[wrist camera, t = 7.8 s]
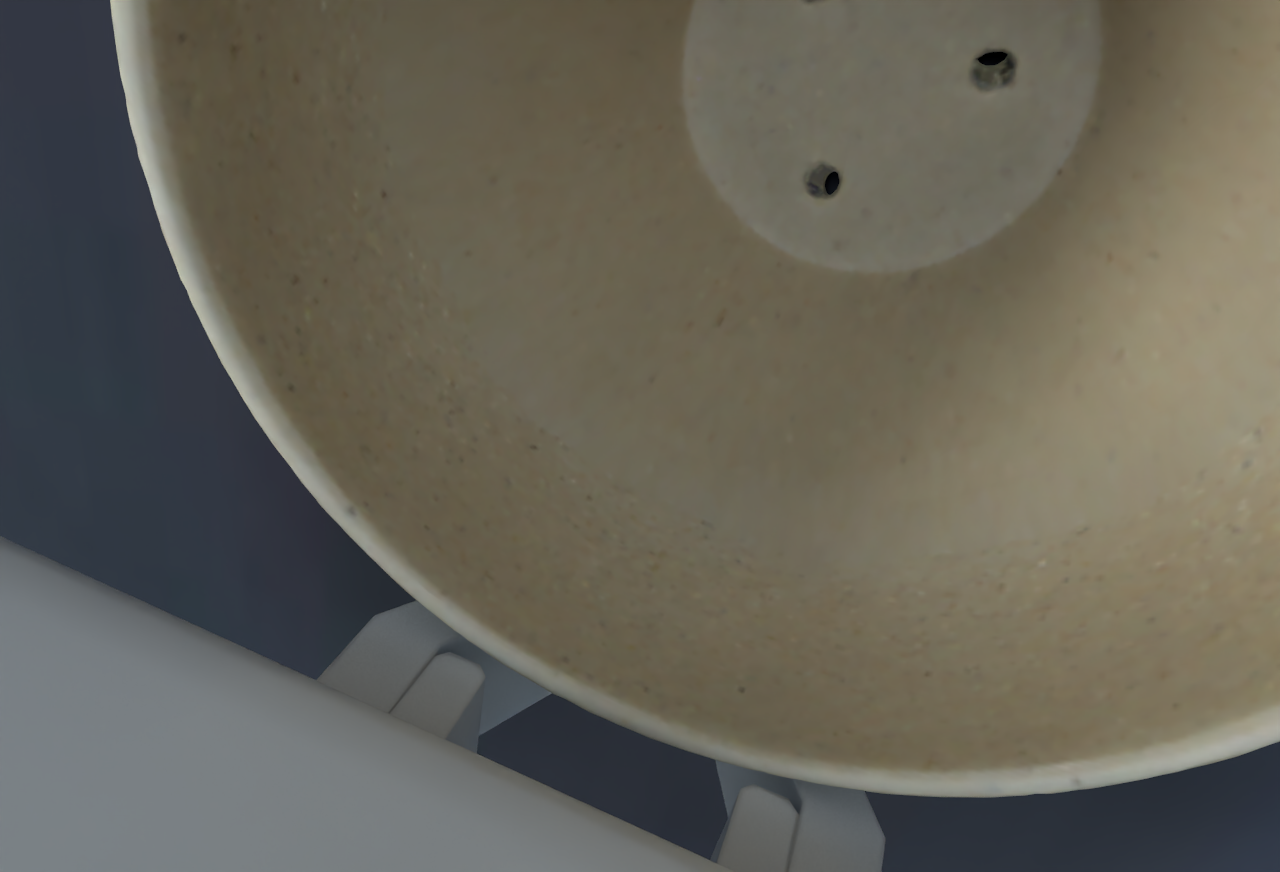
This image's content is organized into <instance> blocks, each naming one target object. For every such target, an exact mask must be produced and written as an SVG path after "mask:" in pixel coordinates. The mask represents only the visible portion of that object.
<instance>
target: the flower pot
mask: <svg viewBox="0 0 1280 872" xmlns="http://www.w3.org/2000/svg"><path fill="white" fill-rule="evenodd" d="M110 2H111V11H112V21H113V28H114V35H115V42H116V49H117V55H118V62H119V68H120V75H121V80H122V83H123V87H124V91H125V95H126V103H127V109H128V114H129V119H130V124H131V128H132V132H133V135H134V138H135V142H136V145H137V149H138V156H139V159H140V162H141V165H142V168H143V171H144V174H145V177H146V180H147V183H148V186H149V189H150V192H151V195H152V199H153V203H154V206H155V209H156V212H157V215H158V218H159V221H160V225H161V228H162V232H163V235H164V237H165V239H166V242H167V244H168V247H169V249H170V252H171V255H172V257H173V260H174V263H175V265H176V268H177V271H178V273H179V276H180V279H181V281H182V282H183V284H184V286H185V287H186V289H187V291H188V294H189V297H190V300H191V302H192V304H193V306H194V308H195V310H196V312H197V314H198V316H199V318H200V321H201V323H202V325H203V327H204V329H205V331H206V333H207V335H208V337H209V339H210V341H211V343H212V345H213V347H214V349H215V351H216V353H217V355H218V357H219V359H220V360H221V362H222V364H223V366H224V367H225V369H226V371H227V372H228V374H229V376H230V377H231V379H232V381H233V383H234V384H235V386H236V388H237V389H238V391H239V393H240V395H241V396H242V398H243V400H244V401H245V403H246V404H247V406H248V408H249V409H250V411H251V412H252V414H253V416H254V417H255V419H256V420H257V422H258V423H259V424H260V426H261V427H262V429H263V430H264V432H265V433H266V435H267V436H268V438H269V439H270V441H271V442H272V444H273V445H274V446H275V448H276V449H277V450H278V451H279V453H280V454H281V455H282V456H283V458H284V459H285V460H286V462H287V463H288V464H289V465H290V467H291V468H292V469H293V471H294V472H295V474H296V475H297V476H298V478H299V479H300V481H301V482H302V483H303V484H304V486H305V487H306V488H307V489H308V490H309V491H310V493H311V494H312V495H313V496H314V497H315V499H316V500H317V501H318V503H319V504H320V505H321V506H322V507H323V509H324V510H325V511H326V512H327V513H328V514H329V515H330V516H331V517H332V518H333V519H334V520H335V521H336V522H337V523H338V524H339V525H340V526H341V527H342V529H343V530H344V531H345V532H346V533H347V534H348V535H349V536H350V537H351V538H352V539H353V540H354V541H355V542H356V543H357V544H358V545H359V546H360V547H361V548H362V549H363V550H364V551H365V552H366V553H367V554H368V555H369V556H370V557H371V558H372V559H373V560H374V561H375V562H376V563H377V564H378V565H379V566H380V567H381V568H382V569H383V570H384V571H385V572H386V573H387V574H388V575H389V576H390V577H391V578H392V579H393V580H395V581H396V582H397V583H398V584H399V585H400V586H401V587H402V588H403V589H404V590H405V591H407V592H408V593H409V594H410V595H411V596H412V597H414V598H415V599H416V600H417V601H418V602H419V603H421V604H422V605H423V606H424V607H426V608H427V609H428V610H429V611H431V612H432V613H433V614H434V615H436V616H437V617H438V618H439V619H441V620H442V621H443V622H444V623H446V624H447V625H448V626H449V627H451V628H452V629H453V630H455V631H456V632H458V633H459V634H461V635H462V636H463V637H465V638H466V639H467V640H468V641H470V642H471V643H473V644H474V645H476V646H477V647H479V648H480V649H482V650H483V651H484V652H486V653H487V654H489V655H490V656H492V657H493V658H494V659H496V660H497V661H499V662H500V663H502V664H503V665H505V666H506V667H508V668H510V669H512V670H513V671H515V672H517V673H518V674H520V675H522V676H524V677H525V678H527V679H529V680H530V681H532V682H534V683H536V684H537V685H539V686H541V687H542V688H544V689H546V690H547V691H549V692H551V693H553V694H555V695H558V696H560V697H563V698H565V699H567V700H568V701H570V702H572V703H574V704H576V705H578V706H579V707H581V708H583V709H585V710H587V711H589V712H591V713H593V714H595V715H597V716H600V717H602V718H605V719H607V720H609V721H611V722H613V723H616V724H618V725H620V726H623V727H626V728H628V729H630V730H633V731H635V732H637V733H640V734H642V735H644V736H646V737H649V738H651V739H654V740H657V741H660V742H663V743H666V744H669V745H672V746H674V747H677V748H680V749H683V750H686V751H689V752H692V753H695V754H699V755H702V756H706V757H709V758H712V759H714V760H717V761H720V762H724V763H728V764H732V765H736V766H739V767H743V768H746V769H750V770H756V771H761V772H765V773H768V774H772V775H777V776H781V777H786V778H792V779H798V780H803V781H807V782H812V783H817V784H823V785H828V786H834V787H841V788H849V789H856V790H863V791H869V792H876V793H883V794H898V795H911V796H934V797H1003V796H1022V795H1030V794H1035V793H1037V794H1051V793H1059V792H1067V791H1073V790H1082V789H1091V788H1097V787H1103V786H1109V785H1115V784H1120V783H1126V782H1131V781H1137V780H1141V779H1146V778H1150V777H1155V776H1159V775H1164V774H1169V773H1174V772H1179V771H1183V770H1186V769H1190V768H1195V767H1199V766H1203V765H1207V764H1211V763H1215V762H1219V761H1222V760H1226V759H1230V758H1233V757H1237V756H1240V755H1243V754H1245V753H1248V752H1251V751H1254V750H1257V749H1259V748H1262V747H1265V746H1268V745H1270V744H1273V743H1276V742H1279V741H1280V0H110ZM989 52H1004V53H1007V54H1008V55H1007V57H1006V58H1005V60H1004V61H1002V62H1000V63H999V64H997V65H984V64H981V63H979V61H978V58H979V57H981V56H982V55H984V54H985V53H989ZM833 171H834V172H837V173H838V176H839V182H840V183H839V186H838V188H837V190H836V191H835V192H833V193H832V194H831V195H828V193H827V192H826V189H825V181H826V178H827V176H828V175H829V174H830V173H832V172H833Z"/></svg>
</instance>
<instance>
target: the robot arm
mask: <svg viewBox="0 0 1280 872" xmlns="http://www.w3.org/2000/svg"><path fill="white" fill-rule="evenodd" d="M550 694H551V692H549V691H547V690H546V689H544V688H542V687H541V686H539V685H537V684H536V683H534V682H532V681H530V680H529V679H527V678H525V677H524V676H522V675H520V674H518V673H517V672H515V671H513V670H512V669H510V668H508V667H506V666H505V665H503V664H502V663H500V662H499V661H497V660H496V659H494V658H493V657H492V656H490V655H489V654H487V653H486V652H484V651H483V650H482V649H480V648H479V647H477V646H476V645H474V644H473V643H471V642H470V641H468V640H467V639H466V638H465V637H463V636H462V635H461V634H459V633H458V632H456V631H455V630H453V629H452V628H451V627H449V626H448V625H447V624H446V623H444V622H443V621H442V620H441V619H439V618H438V617H437V616H436V615H434V614H433V613H432V612H431V611H429V610H428V609H427V608H426V607H424V606H423V605H422V604H421V603H419V602H418V601H417V600H416V601H414V602H411V603H408V604H405V605H402V606H399V607H397V608H394V609H391V610H388V611H385V612H383V613H380V614H377V615H374V616H373V617H372V619H371V620H370V621H369V622H368V623H367V624H366V625H365V626H364V628H363V629H362V630H361V631H360V632H359V633H358V634H357V635H356V636H355V638H354V639H353V640H352V641H351V642H350V643H349V644H348V645H347V647H346V648H345V649H344V650H343V651H342V652H341V653H340V654H339V655H338V657H337V658H336V659H335V660H334V661H333V662H332V663H331V664H330V666H329V667H328V668H327V669H326V670H325V671H324V672H323V673H322V674H321V676H320V677H319V678H318V679H317V680H314V679H312V678H310V677H308V676H305V675H303V674H301V673H299V672H297V671H295V670H292V669H290V668H288V667H286V666H284V665H281V664H279V663H277V662H275V661H273V660H270V659H268V658H266V657H264V656H262V655H259V654H257V653H255V652H253V651H251V650H249V649H246V648H244V647H242V646H240V645H238V644H235V643H233V642H231V641H229V640H227V639H224V638H222V637H220V636H218V635H216V634H213V633H211V632H209V631H207V630H205V629H202V628H200V627H198V626H196V625H194V624H192V623H189V622H187V621H185V620H183V619H181V618H178V617H176V616H174V615H172V614H170V613H167V612H165V611H163V610H161V609H159V608H156V607H154V606H152V605H150V604H148V603H146V602H143V601H141V600H139V599H137V598H135V597H132V596H130V595H128V594H126V593H124V592H121V591H119V590H117V589H115V588H113V587H110V586H108V585H106V584H104V583H102V582H99V581H97V580H95V579H93V578H91V577H89V576H86V575H84V574H82V573H80V572H78V571H75V570H73V569H71V568H69V567H67V566H64V565H62V564H60V563H58V562H56V561H53V560H51V559H49V558H47V557H45V556H42V555H40V554H38V553H36V552H34V551H32V550H29V549H27V548H25V547H23V546H21V545H18V544H16V543H14V542H12V541H10V540H7V539H5V538H3V537H1V536H0V872H881V869H882V862H883V855H884V847H885V840H886V838H885V836H884V834H883V832H882V829H881V827H880V825H879V823H878V820H877V818H876V816H875V814H874V811H873V809H872V807H871V805H870V802H869V800H868V798H867V795H866V793H865V791H863V790H856V789H849V788H841V787H834V786H828V785H823V784H817V783H812V782H807V781H803V780H798V779H792V778H786V777H781V776H777V775H772V774H768V773H765V772H761V771H756V770H750V769H746V768H743V767H739V766H736V765H732V764H728V763H724V762H720V761H717V760H715V762H716V766H717V771H718V775H719V780H720V784H721V788H722V793H723V797H724V802H725V806H726V810H727V815H728V819H727V821H726V824H725V826H724V828H723V831H722V833H721V835H720V837H719V840H718V842H717V844H716V847H715V849H714V851H713V854H712V856H711V858H710V860H708V859H706V858H704V857H702V856H700V855H697V854H695V853H693V852H691V851H689V850H686V849H684V848H682V847H680V846H678V845H676V844H673V843H671V842H669V841H667V840H665V839H662V838H660V837H658V836H656V835H654V834H651V833H649V832H647V831H645V830H643V829H640V828H638V827H636V826H634V825H632V824H630V823H627V822H625V821H623V820H621V819H619V818H616V817H614V816H612V815H610V814H608V813H605V812H603V811H601V810H599V809H597V808H594V807H592V806H590V805H588V804H586V803H584V802H581V801H579V800H577V799H575V798H573V797H570V796H568V795H566V794H564V793H562V792H559V791H557V790H555V789H553V788H551V787H549V786H546V785H544V784H542V783H540V782H538V781H535V780H533V779H531V778H529V777H527V776H524V775H522V774H520V773H518V772H516V771H514V770H511V769H509V768H507V767H505V766H503V765H500V764H498V763H496V762H494V761H492V760H489V759H487V758H485V757H483V756H481V755H478V754H477V746H478V738H479V736H480V735H481V734H483V733H485V732H486V731H488V730H490V729H492V728H493V727H495V726H497V725H498V724H500V723H502V722H503V721H505V720H507V719H509V718H510V717H512V716H514V715H515V714H517V713H519V712H521V711H522V710H524V709H526V708H527V707H529V706H531V705H533V704H534V703H536V702H538V701H539V700H541V699H543V698H544V697H546V696H548V695H550Z"/></svg>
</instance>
